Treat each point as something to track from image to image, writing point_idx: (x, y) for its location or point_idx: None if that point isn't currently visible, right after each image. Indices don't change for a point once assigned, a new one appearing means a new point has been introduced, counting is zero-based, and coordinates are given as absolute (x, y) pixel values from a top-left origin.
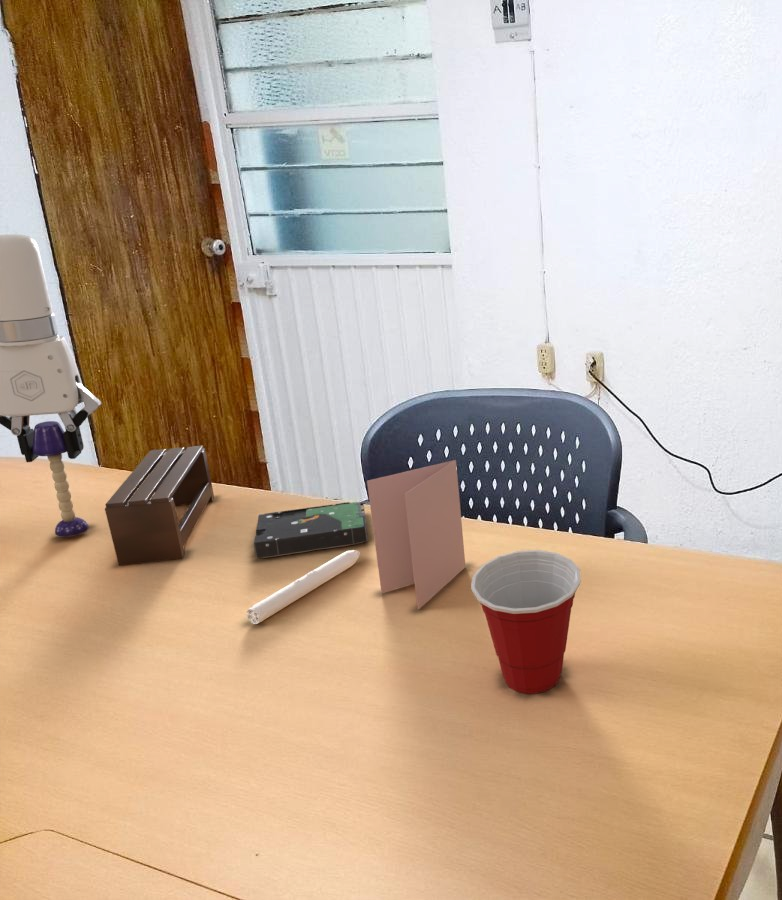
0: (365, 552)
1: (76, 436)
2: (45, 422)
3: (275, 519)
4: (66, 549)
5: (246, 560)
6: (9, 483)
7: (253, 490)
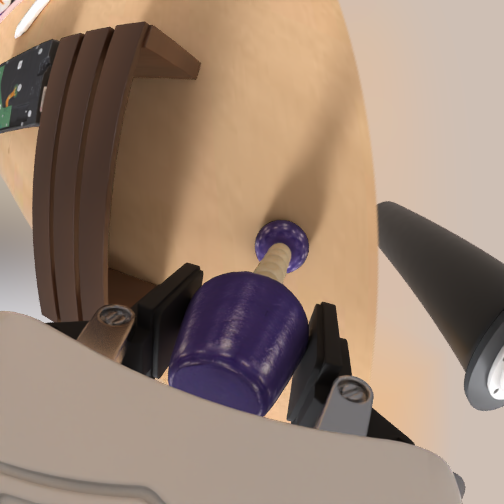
0: (14, 52)
1: (134, 304)
2: None
3: (27, 101)
4: (287, 172)
5: None
6: None
7: None
